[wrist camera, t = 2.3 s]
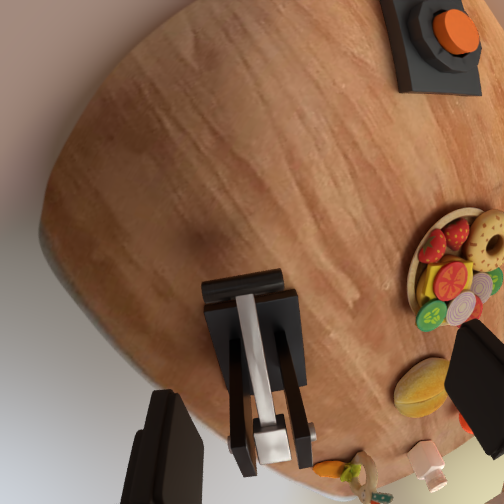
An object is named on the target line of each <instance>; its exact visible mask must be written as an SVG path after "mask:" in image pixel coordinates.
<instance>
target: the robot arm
mask: <svg viewBox="0 0 504 504" xmlns="http://www.w3.org/2000/svg"><path fill="white" fill-rule="evenodd" d="M444 388H445V391H446V392H447V394H448V395H449V397H450V398H451V400H452V401H453V403H454V404H455V406H456V407H457V409H458V410H459V412H460V413H461V415H462V416H463V418H464V419H465V421H466V423H467V424H468V426H469V427H470V429H471V430H472V432H473V434H474V435H475V437H476V438H477V440H478V441H479V443H480V445H481V446H482V448H483V450H484V451H485V453H486V454H487V455H491V457H492V458H493V460H495V459H497V458H498V457H500V456H501V455H503V454H504V344H503V343H502V342H501V341H500V340H499V339H498V338H497V337H496V336H495V335H494V334H493V333H492V332H491V331H490V330H489V329H488V328H487V327H486V326H485V325H484V324H483V323H482V322H481V321H480V320H478V319H476V318H474V319H472V320H469V321H467V322H464V323H462V324H461V326H460V329H458V331H457V335H456V339H455V344H454V348H453V352H452V356H451V360H450V364H449V367H448V371H447V375H446V378H445V382H444ZM203 459H204V445H203V441H202V439H201V437H200V435H199V433H198V431H197V429H196V427H195V425H194V423H193V421H192V419H191V417H190V415H189V413H188V411H187V409H186V407H185V405H184V403H183V401H182V399H181V397H180V395H179V394H178V393H174V392H173V390H171V389H167V390H154V391H153V392H152V395H151V400H150V404H149V408H148V412H147V416H146V421H145V425H144V429H143V430H138V431H137V433H136V435H135V438H134V442H133V446H132V450H131V455H130V460H129V464H128V468H127V473H126V477H125V482H124V487H123V492H122V497H121V502H120V504H202V482H203ZM485 504H504V483H503V488H502V492H501V494H499V495H498V496H496V497H494V498H493V499H491V500H490V501H488V502H486V503H485Z"/></svg>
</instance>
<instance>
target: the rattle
mask: <svg viewBox="0 0 504 504" xmlns="http://www.w3.org/2000/svg"><path fill="white" fill-rule="evenodd" d="M361 465H363V466H364V468H365V471H366V484H364V485H363V486H361V484H360V481H359V474H360V470H361ZM312 470H313V471H314V472H315V473H316V474H318V475H319V476H320V477H332V478H340V480H341V481H342V482H344V481H347V482H349V485H350V488H351V490H352V492H353V493H354V494H355V495H356V496H358V497H359V499H360V501H361V502H362V503H363V504H370V503H371V504H380V503H383V504H389V503H390V502H392V501H393V496H392V494H387V493H380V492H379V493H377V491H376V485H377V482H378V472H377V468H376V465H375V462H374V461H373V459H372V458H371V457H370V456H368V455H367V453H366V452H364V451H362V452H358V453H357V454H356V455H355V457H354V458H353V459H352V461H351V462H349V463H344V462H340V461H324V462H321V463H317V464H316V465H315V466H314V467H313V469H312Z"/></svg>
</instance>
